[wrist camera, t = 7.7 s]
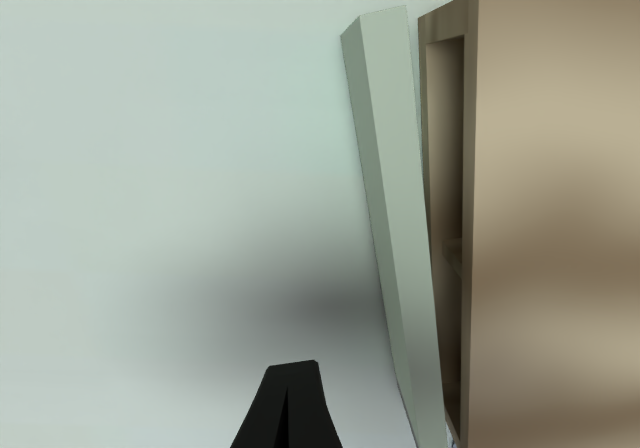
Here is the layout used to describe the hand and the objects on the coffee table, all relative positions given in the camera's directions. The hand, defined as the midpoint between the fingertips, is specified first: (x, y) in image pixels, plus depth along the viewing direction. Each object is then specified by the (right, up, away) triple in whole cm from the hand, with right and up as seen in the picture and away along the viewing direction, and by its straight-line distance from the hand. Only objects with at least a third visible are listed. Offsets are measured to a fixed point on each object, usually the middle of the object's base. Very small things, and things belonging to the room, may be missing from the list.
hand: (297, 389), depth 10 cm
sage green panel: (+3, +4, +4) cm, 7 cm away
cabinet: (+9, +4, +5) cm, 11 cm away
